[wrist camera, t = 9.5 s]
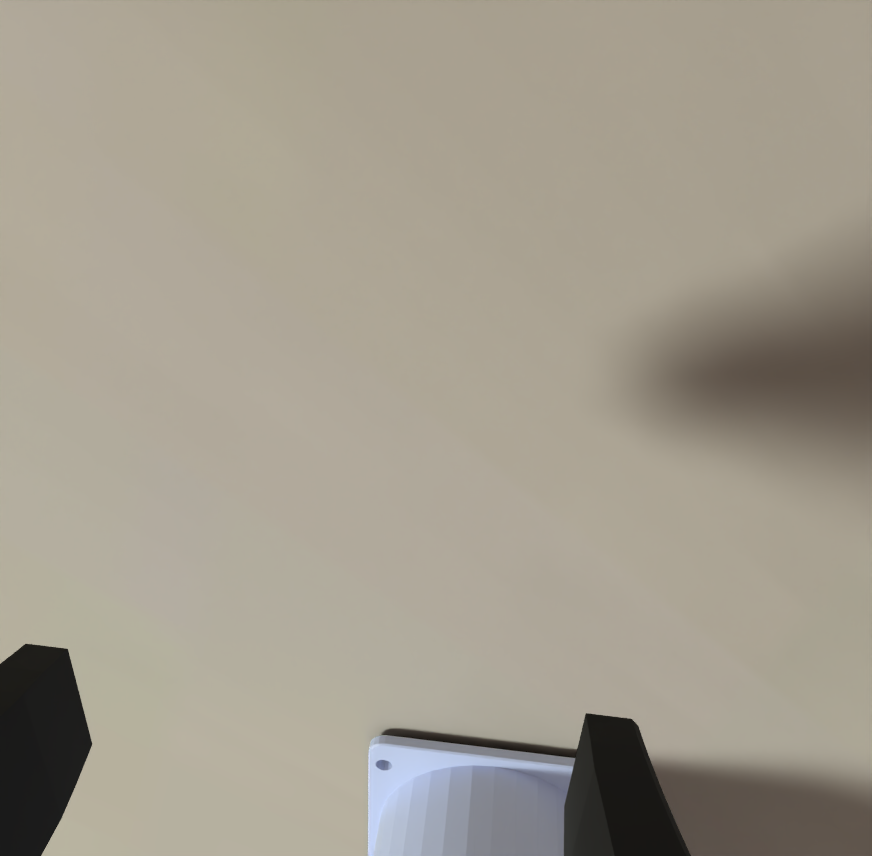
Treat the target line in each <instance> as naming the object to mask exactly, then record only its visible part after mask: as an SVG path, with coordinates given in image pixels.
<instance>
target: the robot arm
mask: <svg viewBox="0 0 872 856" xmlns="http://www.w3.org/2000/svg"><path fill="white" fill-rule="evenodd" d="M91 746H92V742H91V738H90V734H89V730H88V726H87V722H86V718H85V714H84V711H83V707H82V703H81V699H80V695H79V691H78V687H77V683H76V679H75V676H74V672H73V668H72V664H71V660H70V656H69V652H68V649H64V648H56V647H48V646H40V645H32V644H25V645H24V646H22V647H21V648H20V649H19V650H17V651H16V652H15V653H14V654H12V655H11V656H10V657H8V658H7V659H6V660H5V661H3V662H2V663H1V664H0V856H41V855H42V853H43V851H44V849H45V847H46V846H47V844H48V842H49V840H50V838H51V837H52V835H53V833H54V831H55V829H56V827H57V825H58V824H59V822H60V820H61V818H62V816H63V813H64V811H65V809H66V806H67V804H68V802H69V800H70V797H71V795H72V793H73V790H74V788H75V786H76V783H77V781H78V778H79V776H80V773H81V771H82V768H83V766H84V763H85V761H86V758H87V756H88V754H89V751H90V749H91ZM368 856H691V855H690V853H689V851H688V849H687V847H686V845H685V842H684V840H683V838H682V836H681V833H680V831H679V829H678V827H677V825H676V822H675V820H674V818H673V815H672V813H671V810H670V808H669V806H668V803H667V801H666V799H665V796H664V794H663V792H662V789H661V787H660V784H659V782H658V779H657V777H656V774H655V771H654V769H653V766H652V764H651V761H650V758H649V756H648V753H647V750H646V747H645V745H644V742H643V739H642V736H641V733H640V730H639V727H638V725H637V724H636V723H635V722H634V721H633V720H632V719H627V718H619V717H611V716H603V715H595V714H587V713H586V715H585V719H584V724H583V728H582V732H581V736H580V741H579V745H578V749H577V754H576V758H570V757H562V756H554V755H546V754H537V753H529V752H521V751H513V750H504V749H496V748H488V747H480V746H472V745H463V744H455V743H447V742H439V741H430V740H422V739H414V738H406V737H397V736H389V735H380V736H377V737H374V738H373V739H372V740H371V743H370V748H369V775H368Z"/></svg>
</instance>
